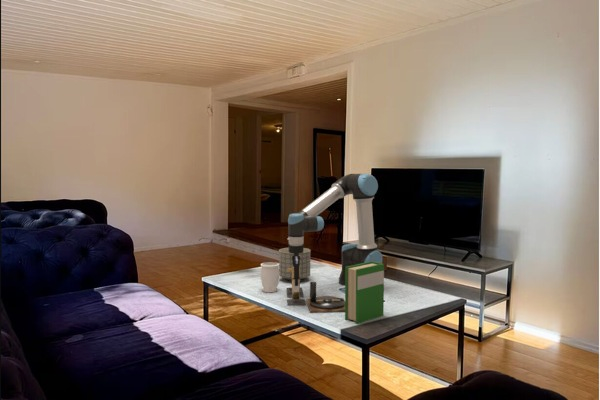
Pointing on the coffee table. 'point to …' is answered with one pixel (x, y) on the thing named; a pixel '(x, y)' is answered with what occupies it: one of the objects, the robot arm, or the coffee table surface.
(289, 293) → the eye block
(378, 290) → the hardback book
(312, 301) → the handwheel
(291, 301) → the pad
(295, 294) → the hook peg
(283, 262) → the planter
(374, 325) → the coffee table surface
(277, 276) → the jar
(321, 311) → the wheel base
